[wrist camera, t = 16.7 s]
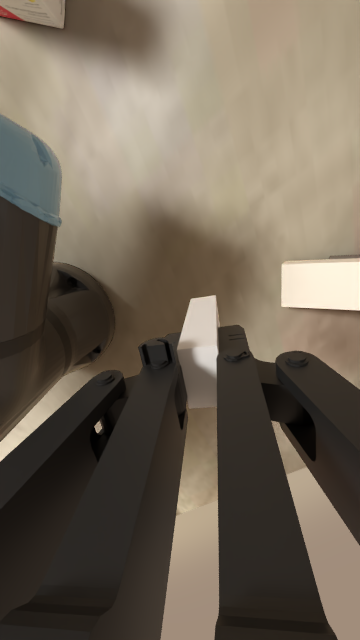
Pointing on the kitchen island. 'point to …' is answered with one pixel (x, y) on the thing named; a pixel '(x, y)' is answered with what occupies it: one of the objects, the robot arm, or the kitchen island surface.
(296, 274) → the domino ivory
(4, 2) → the ink box
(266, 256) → the kitchen island surface
